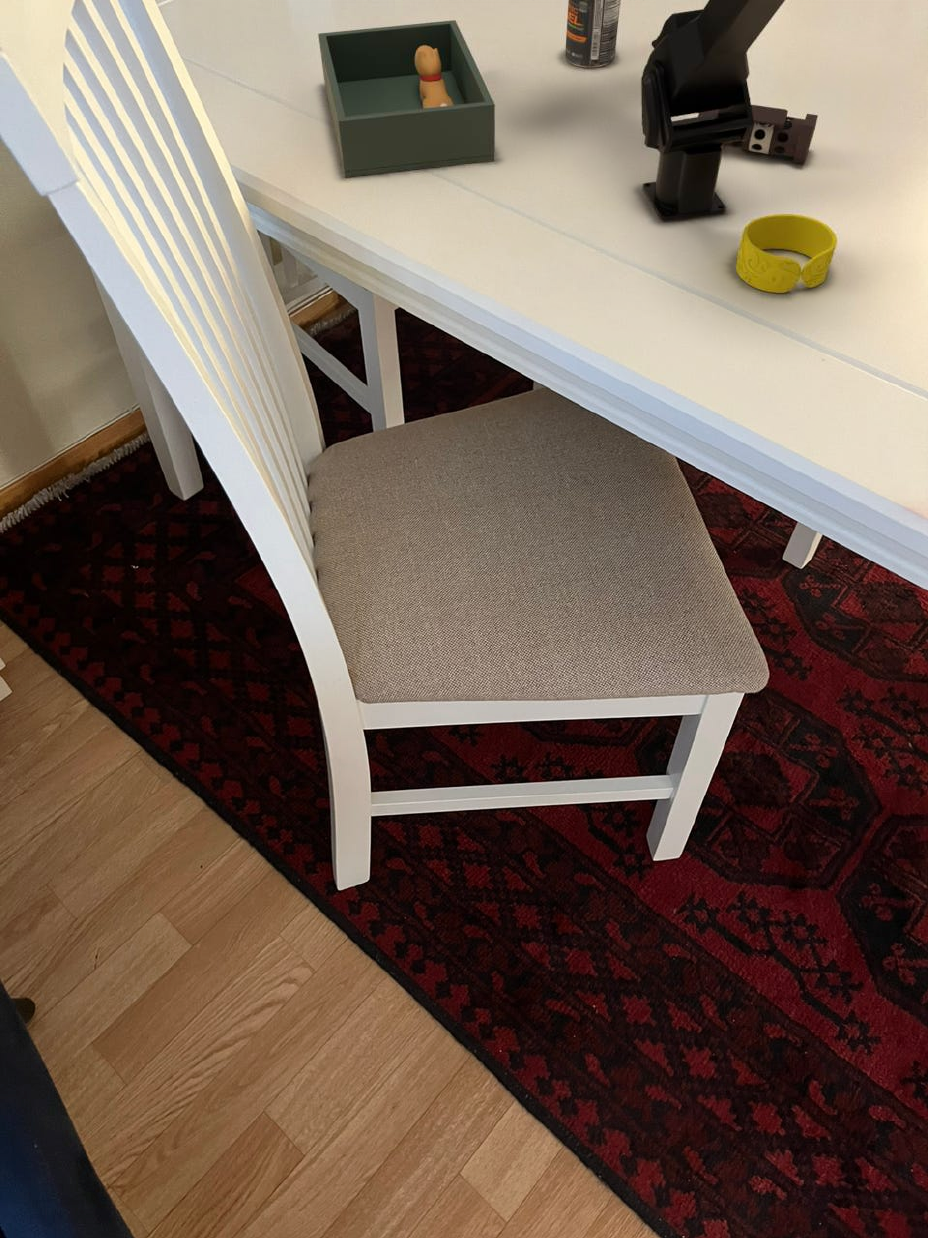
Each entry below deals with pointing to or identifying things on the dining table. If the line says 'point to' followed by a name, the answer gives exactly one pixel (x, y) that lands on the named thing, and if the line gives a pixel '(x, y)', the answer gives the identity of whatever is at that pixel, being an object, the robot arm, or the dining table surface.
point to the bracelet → (787, 235)
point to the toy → (431, 78)
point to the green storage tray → (404, 100)
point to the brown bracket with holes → (777, 133)
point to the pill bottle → (591, 32)
